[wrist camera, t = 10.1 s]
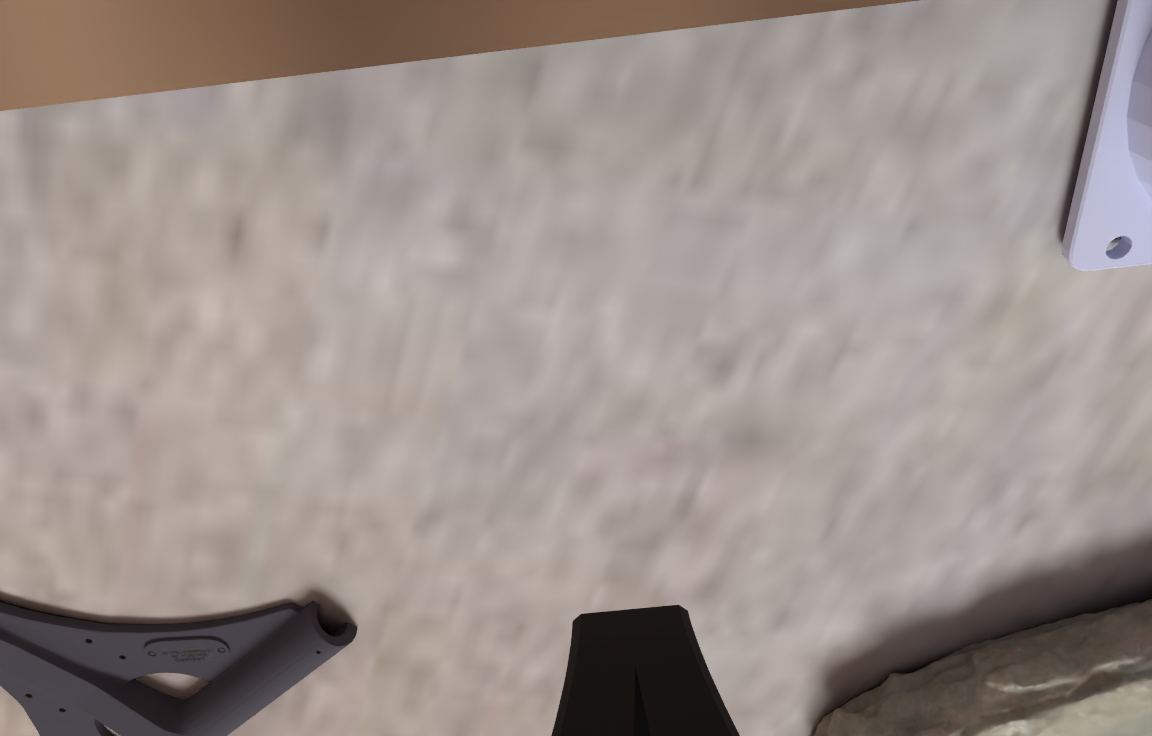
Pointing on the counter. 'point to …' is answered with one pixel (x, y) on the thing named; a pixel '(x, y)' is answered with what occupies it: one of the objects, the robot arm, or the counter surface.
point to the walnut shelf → (307, 36)
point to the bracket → (157, 669)
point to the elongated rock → (1021, 685)
